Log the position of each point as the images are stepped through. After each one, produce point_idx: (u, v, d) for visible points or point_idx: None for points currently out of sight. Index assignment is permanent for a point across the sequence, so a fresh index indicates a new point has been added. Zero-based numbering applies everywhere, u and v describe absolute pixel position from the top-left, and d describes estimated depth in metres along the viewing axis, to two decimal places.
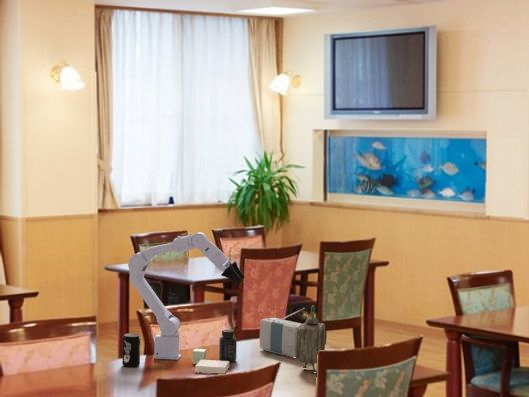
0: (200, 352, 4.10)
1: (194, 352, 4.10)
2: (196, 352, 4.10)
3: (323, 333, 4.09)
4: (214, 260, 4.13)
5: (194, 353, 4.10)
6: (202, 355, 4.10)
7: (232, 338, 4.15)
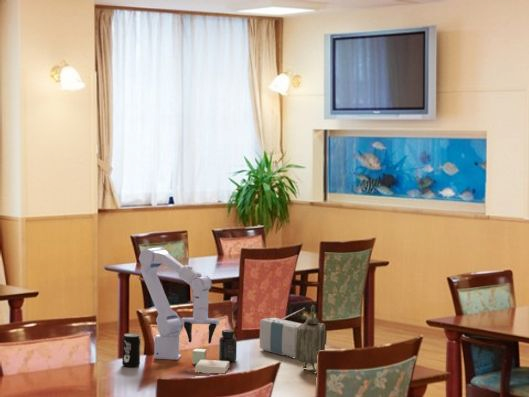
0: (200, 352, 4.10)
1: (194, 352, 4.10)
2: (196, 352, 4.10)
3: (323, 333, 4.09)
4: None
5: (194, 353, 4.10)
6: (202, 355, 4.10)
7: (232, 338, 4.15)
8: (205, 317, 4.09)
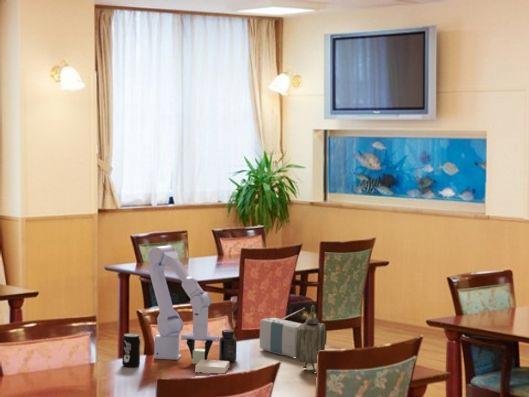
0: (200, 352, 4.10)
1: (194, 352, 4.10)
2: (196, 352, 4.10)
3: (323, 333, 4.09)
4: None
5: (194, 353, 4.10)
6: (202, 355, 4.10)
7: (232, 338, 4.15)
8: (205, 334, 4.10)
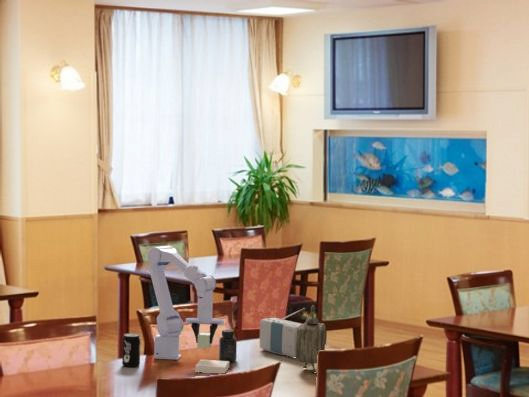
0: (205, 336, 4.06)
1: (199, 336, 4.06)
2: (201, 336, 4.06)
3: (323, 333, 4.09)
4: None
5: (199, 337, 4.06)
6: (207, 339, 4.06)
7: (232, 338, 4.15)
8: (209, 317, 4.05)
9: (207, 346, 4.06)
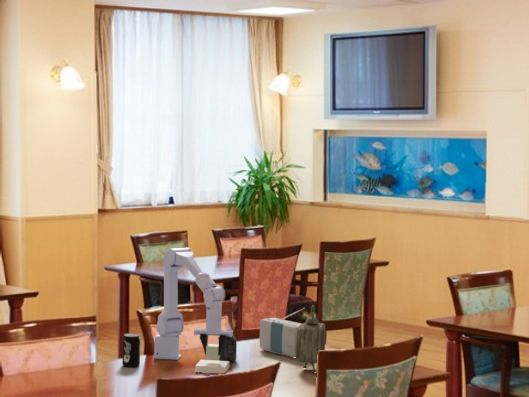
0: (214, 347, 3.98)
1: (207, 347, 3.98)
2: (210, 347, 3.98)
3: (323, 333, 4.09)
4: None
5: (207, 348, 3.98)
6: (216, 350, 3.98)
7: (232, 338, 4.15)
8: (218, 329, 3.98)
9: (216, 358, 3.98)
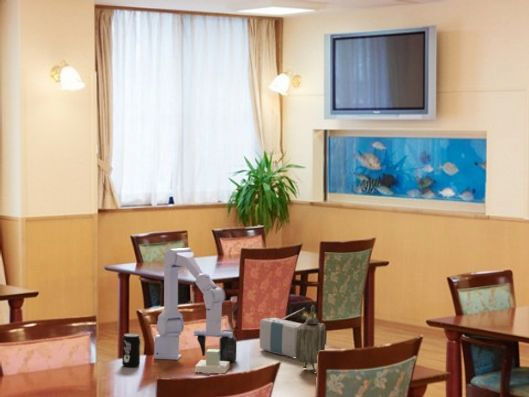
0: (214, 352, 3.98)
1: (208, 352, 3.98)
2: (210, 352, 3.98)
3: (323, 333, 4.09)
4: None
5: (208, 353, 3.98)
6: (216, 355, 3.98)
7: (232, 338, 4.15)
8: (218, 330, 3.98)
9: (216, 363, 3.98)
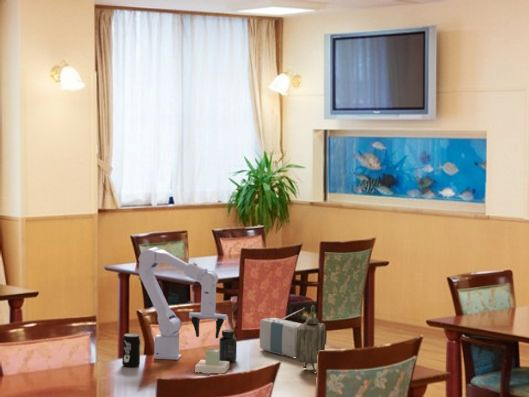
0: (213, 352, 3.98)
1: (207, 352, 3.98)
2: (209, 352, 3.98)
3: (323, 333, 4.09)
4: None
5: (207, 353, 3.98)
6: (215, 355, 3.98)
7: (232, 338, 4.15)
8: (212, 312, 4.13)
9: (215, 363, 3.98)
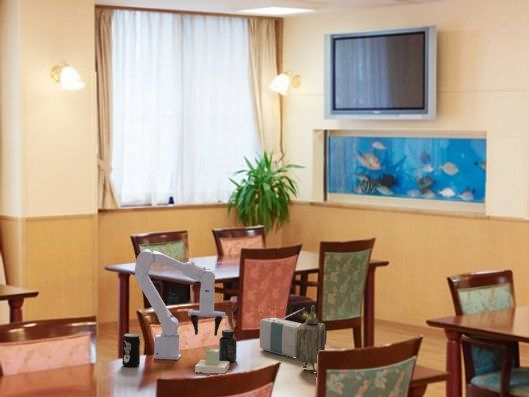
0: (213, 352, 3.98)
1: (207, 352, 3.98)
2: (209, 352, 3.98)
3: (323, 333, 4.09)
4: None
5: (207, 353, 3.98)
6: (215, 355, 3.98)
7: (232, 338, 4.15)
8: (211, 310, 4.17)
9: (215, 363, 3.98)
